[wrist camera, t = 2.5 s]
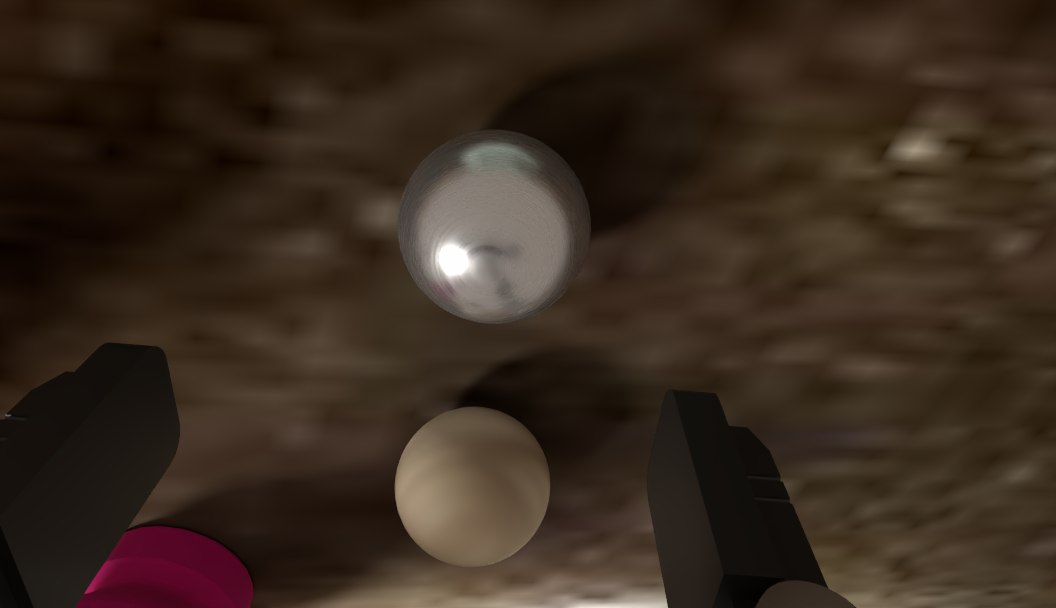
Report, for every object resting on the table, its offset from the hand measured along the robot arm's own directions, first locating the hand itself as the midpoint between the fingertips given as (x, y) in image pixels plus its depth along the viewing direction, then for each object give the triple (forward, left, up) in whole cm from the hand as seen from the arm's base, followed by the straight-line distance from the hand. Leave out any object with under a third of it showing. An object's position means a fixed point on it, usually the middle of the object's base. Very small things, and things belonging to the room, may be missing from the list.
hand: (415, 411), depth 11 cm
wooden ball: (-5, +7, -10) cm, 14 cm away
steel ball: (-1, 0, -10) cm, 10 cm away
